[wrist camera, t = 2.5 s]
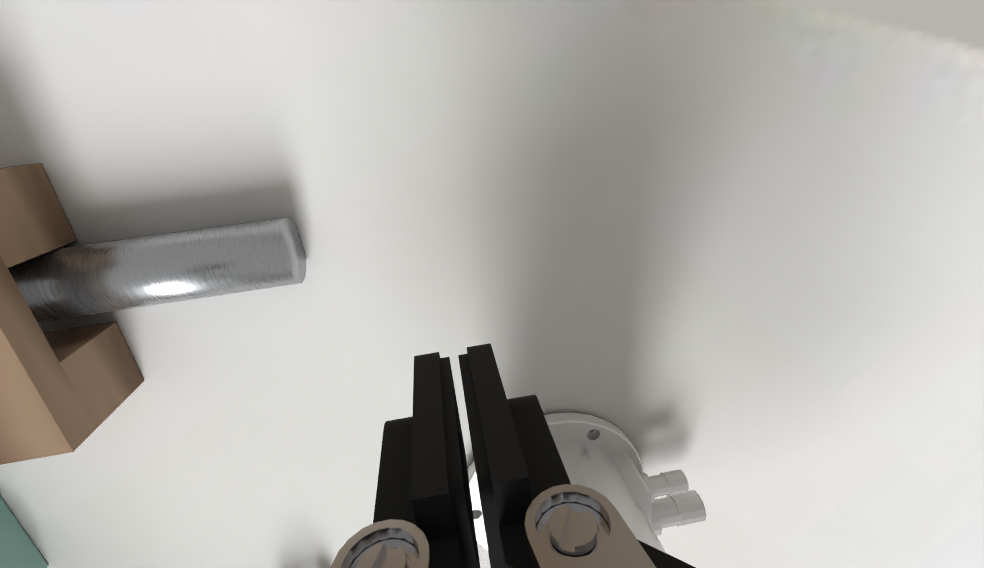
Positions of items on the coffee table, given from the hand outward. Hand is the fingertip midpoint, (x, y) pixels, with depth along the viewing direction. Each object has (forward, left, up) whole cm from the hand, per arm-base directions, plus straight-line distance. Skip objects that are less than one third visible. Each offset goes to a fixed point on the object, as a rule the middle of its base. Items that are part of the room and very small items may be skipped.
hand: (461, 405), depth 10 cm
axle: (+14, 0, -15) cm, 21 cm away
